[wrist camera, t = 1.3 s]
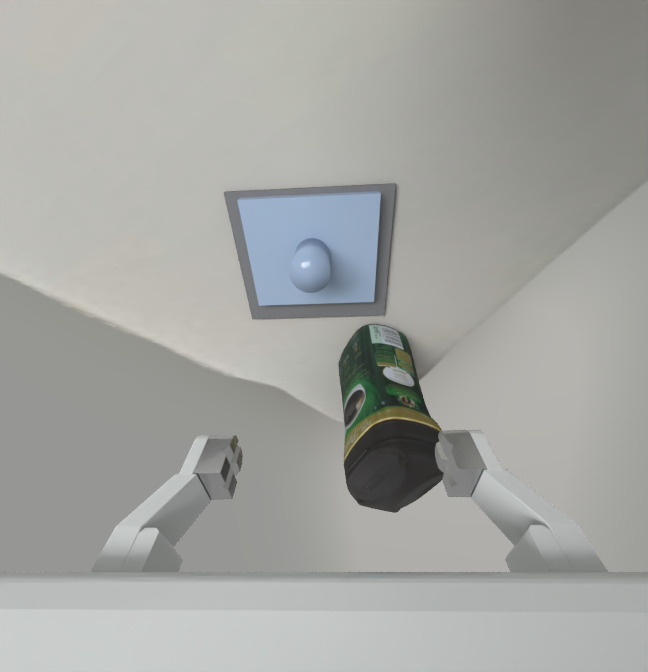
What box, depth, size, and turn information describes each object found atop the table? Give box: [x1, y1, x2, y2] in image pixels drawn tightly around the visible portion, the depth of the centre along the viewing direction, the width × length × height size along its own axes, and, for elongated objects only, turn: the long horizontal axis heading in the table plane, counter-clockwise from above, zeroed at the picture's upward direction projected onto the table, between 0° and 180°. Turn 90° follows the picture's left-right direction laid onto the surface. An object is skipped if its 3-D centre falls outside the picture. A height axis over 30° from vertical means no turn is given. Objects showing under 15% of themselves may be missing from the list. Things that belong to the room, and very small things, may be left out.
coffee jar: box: [339, 324, 444, 512], centre depth 31 cm, size 10×8×19 cm
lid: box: [237, 191, 381, 306], centre depth 27 cm, size 11×13×6 cm
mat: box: [224, 183, 396, 319], centre depth 31 cm, size 14×16×1 cm
